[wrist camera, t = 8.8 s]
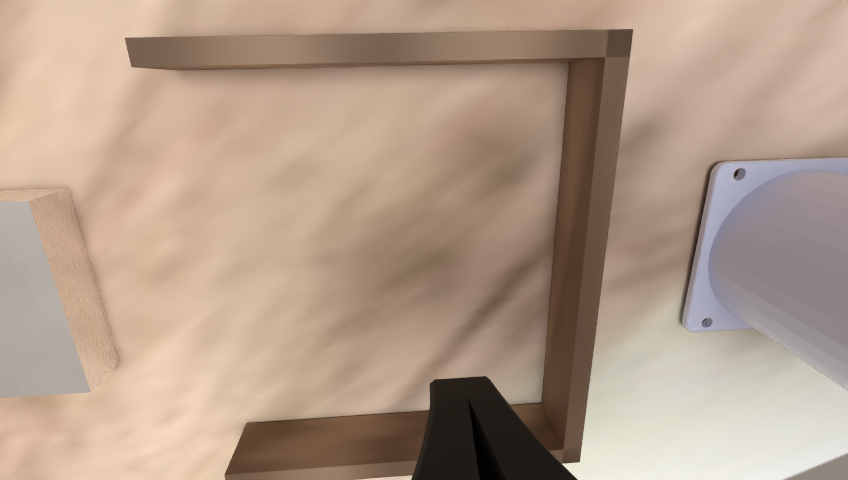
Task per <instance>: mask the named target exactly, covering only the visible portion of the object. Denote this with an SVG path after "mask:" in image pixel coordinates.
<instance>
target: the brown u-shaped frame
mask: <svg viewBox="0 0 848 480" xmlns="http://www.w3.org/2000/svg"><path fill="white" fill-rule="evenodd" d="M632 34H633V29H618V30H558V31H499V32H440V33H380V34H321V35H261V36H202V37H143V38H125V41H126V45H127V49H128V54H129V58H130V63H131V67H138V68H152V69H166V70H215V69H262V68H309V67H356V66H403V65H450V64H497V63H544V62H569V74H568V86H567V99H566V111H565V123H564V135H563V148H562V160H561V172H560V184H559V197H558V209H557V221H556V233H555V245H554V258H553V270H552V282H551V294H550V307H549V319H548V331H547V343H546V356H545V368H544V380H543V392H542V403H537V404H522V405H510V407H511V408H512V409H513V410H514V412H515V413H516V414H517V415H518V416H519V418H520V419H521V420H522V421H523V422H524V424H525V425H526V426H527V427H528V428H529V429H530V430H531V431H532V433H533V434H534V435H535V436H536V437H537V438H538V439H539V440H540V442H541V443H542V444H543V445H544V446H545V447H546V448H547V449H548V450H549V451H550V452H551V453H552V455H553V456H554V457H555V458H556V459H557V460H558V461H559V462H560V463H561V464H562V463H575V462H580V455H581V447H582V439H583V431H584V422H585V414H586V406H587V398H588V390H589V382H590V374H591V366H592V358H593V350H594V342H595V334H596V325H597V317H598V309H599V301H600V293H601V285H602V277H603V269H604V261H605V253H606V245H607V236H608V228H609V220H610V212H611V204H612V196H613V188H614V180H615V172H616V164H617V156H618V148H619V139H620V131H621V123H622V115H623V107H624V99H625V91H626V83H627V75H628V67H629V59H630V51H631V42H632ZM428 415H429V411H420V412H406V413H391V414H377V415H362V416H347V417H333V418H318V419H304V420H289V421H274V422H260V423H246V426H245V428H244V431H243V433H242V435H241V438H240V440H239V442H238V445H237V447H236V449H235V452H234V454H233V456H232V459H231V461H230V463H229V466H228V468H227V470H226V473H225V479H226V480H355V479H368V478H381V477H394V476H407V475H413V473H414V470H415V467H416V464H417V460H418V457H419V454H420V450H421V447H422V443H423V438H424V434H425V430H426V426H427V421H428Z"/></svg>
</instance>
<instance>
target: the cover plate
mask: <svg viewBox="0 0 848 480" xmlns="http://www.w3.org/2000/svg"><path fill="white" fill-rule="evenodd" d="M119 363H120V361H119V358H118V354H117V351H116V348H115V344H114V341H113V337H112V334H111V330H110V327H109V324H108V320H107V317H106V313H105V310H104V306H103V303H102V299H101V296H100V293H99V289H98V286H97V282H96V279H95V275H94V272H93V269H92V265H91V262H90V258H89V255H88V251H87V248H86V245H85V241H84V238H83V234H82V231H81V227H80V224H79V220H78V217H77V214H76V210H75V207H74V203H73V200H72V196H71V193H70V190H69V188H50V189H17V190H0V398H5V397H21V396H38V395H54V394H71V393H87V392H92V390H93V389H94V388H95V387H96V386H97V385H98V384H99V383H100V382H101V381H102V380H103V379H104V378H105V377H106V376H107V375H108V374H109V373H110V372H111V371H112V370H113V369H114V368H115V367H116V366H117V365H118V364H119Z"/></svg>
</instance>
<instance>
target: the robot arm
mask: <svg viewBox="0 0 848 480" xmlns="http://www.w3.org/2000/svg"><path fill="white" fill-rule="evenodd" d="M737 169H739V173H738V175H737V176H736V177H735V178H734V172H735V171H736V170H737ZM705 318H707V319H706V321H705V322H703V323H702V321H703V320H704V319H705ZM682 324H683V326H684V327H685V328H686V329H687V330H689V331H690V332H703V331H720V330H736V329H753V328H755V329H756V330H758V331H759V332H761V333H762V334H764V335H765V336H767V337H768V338H770V339H771V340H773V341H774V342H776V343H777V344H779V345H780V346H782V347H783V348H785V349H786V350H788V351H789V352H791V353H792V354H794V355H795V356H797V357H798V358H800V359H801V360H803V361H804V362H806V363H807V364H809V365H810V366H812V367H813V368H815V369H816V370H818V371H819V372H821V373H822V374H824V375H825V376H827V377H828V378H830V379H831V380H833V381H834V382H836V383H837V384H839V385H840V386H842V387H843V388H845V389H846V390H848V157H831V158H803V159H775V160H747V161H724V162H720V163H718V164H717V165H716V166H715V167H714V168H713V169H712V172H711V175H710V180H709V185H708V191H707V196H706V201H705V206H704V211H703V216H702V221H701V226H700V231H699V236H698V241H697V246H696V252H695V257H694V262H693V267H692V272H691V277H690V282H689V287H688V292H687V297H686V302H685V307H684V312H683V318H682ZM411 480H577V479H576V478H575V477H574V476H573V475H572V474H571V473H570V472H569V471H568V470H567V469H566V468H565V467H564V466H563V465H562V464H561V463H560V462H559V461H558V460H557V459H556V458H555V457H554V456H553V455H552V453H551V452H550V451H549V450H548V449H547V448H546V447H545V446H544V445H543V444H542V443H541V442H540V440H539V439H538V438H537V437H536V436H535V435H534V434H533V433H532V431H531V430H530V429H529V428H528V427H527V426H526V425H525V424H524V422H523V421H522V420H521V419H520V418H519V416H518V415H517V414H516V413H515V412H514V410H513V409H512V408H511V407H510V405H509V404H508V403H507V402H506V400H505V399H504V398H503V396H502V395H501V394H500V392H499V391H498V390H497V388H496V387H495V386H494V384H493V383H492V382H491V380H490V379H489V378H487V377H486V376H483V377H467V378H452V379H436V380H434V381H433V382H431V383H430V409H429V415H428V421H427V426H426V430H425V434H424V438H423V443H422V447H421V450H420V454H419V457H418V460H417V464H416V467H415V470H414V473H413V476H412V479H411Z"/></svg>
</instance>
